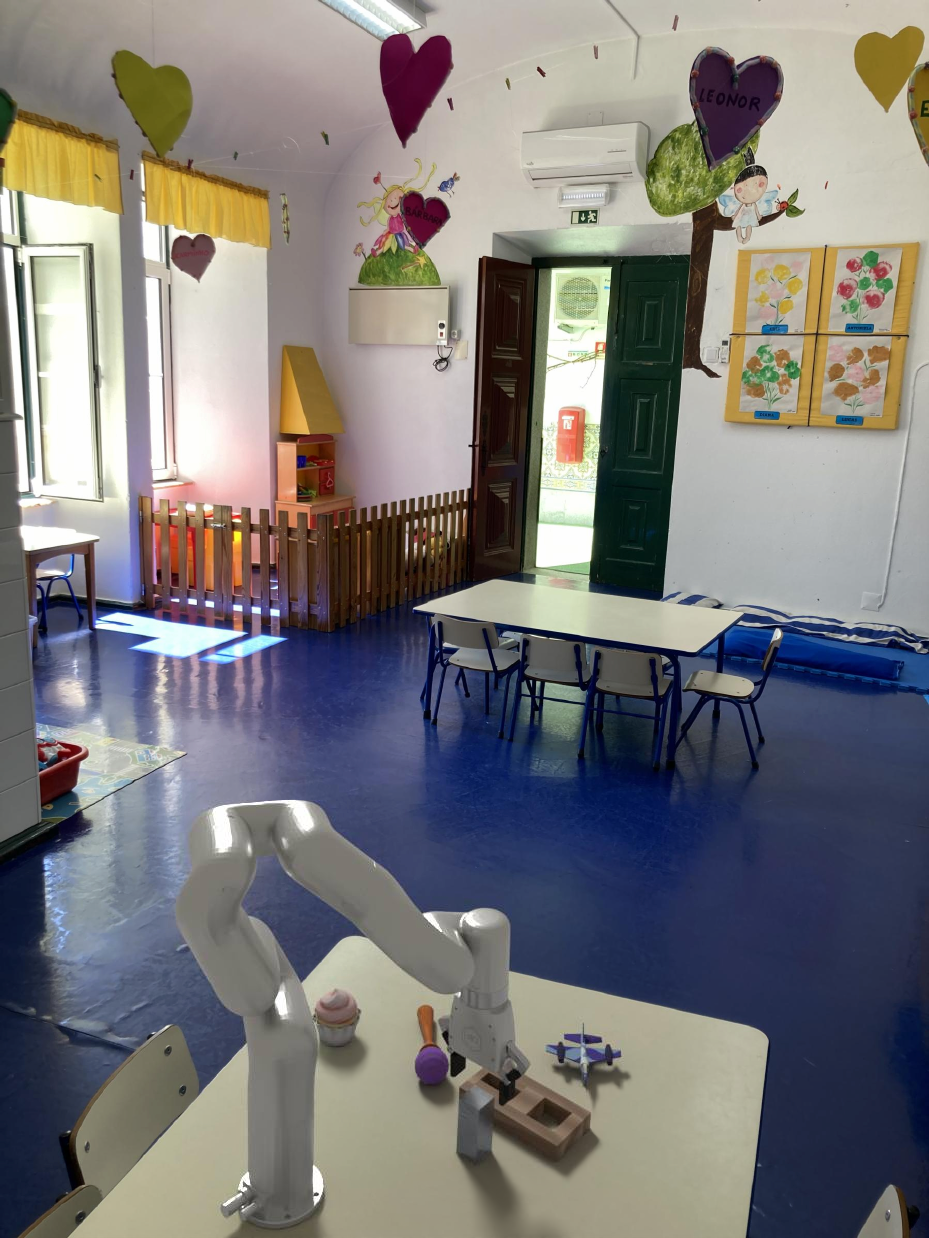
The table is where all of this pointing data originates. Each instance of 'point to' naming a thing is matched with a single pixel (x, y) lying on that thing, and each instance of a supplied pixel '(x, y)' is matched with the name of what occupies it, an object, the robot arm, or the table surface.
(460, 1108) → the square peg
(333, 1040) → the cupcake
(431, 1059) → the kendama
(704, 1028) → the table surface
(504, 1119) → the socket block
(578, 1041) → the toy airplane
